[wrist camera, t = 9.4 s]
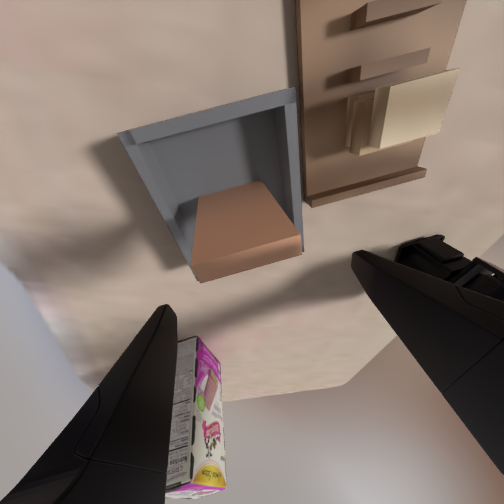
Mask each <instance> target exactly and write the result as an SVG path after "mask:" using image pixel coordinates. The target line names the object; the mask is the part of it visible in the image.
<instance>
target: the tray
mask: <svg viewBox="0 0 504 504" xmlns="http://www.w3.org/2000/svg"><path fill="white" fill-rule="evenodd" d="M117 135H118V136H119V138H120V140H121V142H122V144H123V146H124V147H125V149H126V151H127V153H128V155H129V157H130V158H131V160H132V162H133V164H134V166H135V168H136V169H137V171H138V173H139V175H140V177H141V179H142V180H143V182H144V184H145V186H146V188H147V190H148V191H149V193H150V195H151V197H152V199H153V201H154V202H155V204H156V206H157V208H158V210H159V212H160V213H161V215H162V217H163V219H164V221H165V223H166V224H167V226H168V228H169V230H170V232H171V234H172V235H173V237H174V239H175V241H176V243H177V245H178V246H179V248H180V250H181V252H182V254H183V256H184V257H185V259H186V261H187V263H188V265H189V267H190V268H191V270H192V272H193V274H194V276H195V278H196V279H197V281H199V280H198V278H197V276H196V274H195V273H194V271H193V269H192V267H191V258H192V249H193V240H194V232H195V223H196V215H197V206H198V197H200V196H204V195H207V194H211V193H214V192H218V191H222V190H225V189H229V188H232V187H236V186H240V185H243V184H247V183H250V182H254V181H257V180H261V181H262V182H263V183H264V185H265V186H266V187H267V189H268V190H269V192H270V193H271V194H272V196H273V197H274V198H275V200H276V201H277V203H278V204H279V205H280V207H281V208H282V209H283V211H284V212H285V214H286V215H287V216H288V218H289V219H290V220H291V222H292V223H293V225H294V226H295V227H296V229H297V230H298V231H299V233H300V234H301V246H302V252H304V240H303V221H302V202H301V183H300V164H299V145H298V126H297V107H296V88H295V87H292V88H288V89H284V90H280V91H276V92H272V93H268V94H264V95H260V96H257V97H253V98H249V99H245V100H241V101H238V102H234V103H230V104H226V105H222V106H218V107H215V108H211V109H207V110H203V111H199V112H196V113H192V114H188V115H184V116H180V117H176V118H173V119H169V120H165V121H161V122H157V123H154V124H150V125H146V126H142V127H138V128H134V129H131V130H127V131H124V132H120V133H117Z"/></svg>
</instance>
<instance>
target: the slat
mask: <svg viewBox="0 0 504 504" xmlns="http://www.w3.org/2000/svg"><path fill="white" fill-rule="evenodd" d="M299 255H302V246H301V234H300V233H299V231H298V230H297V229H296V227H295V226H294V225H293V223H292V222H291V220H290V219H289V218H288V216H287V215H286V214H285V212H284V211H283V209H282V208H281V207H280V205H279V204H278V203H277V201H276V200H275V198H274V197H273V196H272V194H271V193H270V192H269V190H268V189H267V187H266V186H265V185H264V183H263V182H262V181H261V180H257V181H254V182H250V183H247V184H243V185H240V186H236V187H232V188H229V189H225V190H222V191H218V192H214V193H211V194H207V195H204V196H200V197H198V206H197V215H196V223H195V232H194V240H193V249H192V258H191V267H192V269H193V271H194V273H195V274H196V276H197V278H198V280H199V282H200V283H204V282H207V281H211V280H214V279H218V278H221V277H225V276H228V275H232V274H236V273H239V272H243V271H246V270H250V269H253V268H257V267H260V266H264V265H267V264H271V263H274V262H278V261H281V260H285V259H288V258H292V257H295V256H299Z"/></svg>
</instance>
